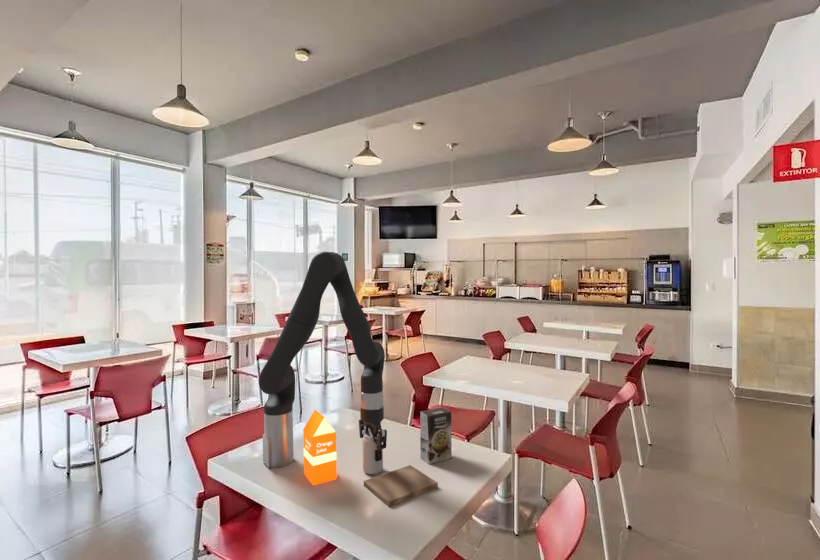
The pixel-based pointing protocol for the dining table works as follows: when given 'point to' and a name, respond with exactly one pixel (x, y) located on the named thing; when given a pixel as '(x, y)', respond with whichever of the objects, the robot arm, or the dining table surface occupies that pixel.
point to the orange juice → (319, 450)
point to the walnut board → (400, 485)
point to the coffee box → (435, 435)
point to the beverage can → (370, 456)
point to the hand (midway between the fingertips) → (372, 456)
